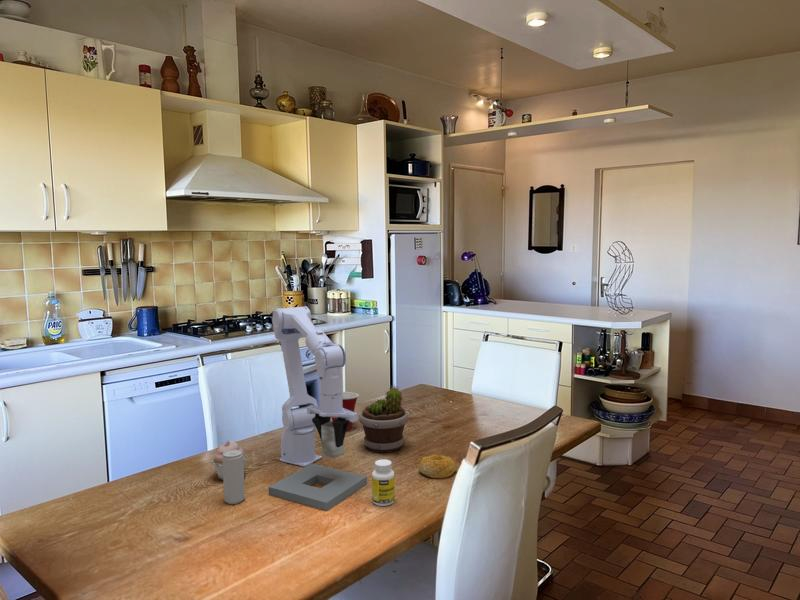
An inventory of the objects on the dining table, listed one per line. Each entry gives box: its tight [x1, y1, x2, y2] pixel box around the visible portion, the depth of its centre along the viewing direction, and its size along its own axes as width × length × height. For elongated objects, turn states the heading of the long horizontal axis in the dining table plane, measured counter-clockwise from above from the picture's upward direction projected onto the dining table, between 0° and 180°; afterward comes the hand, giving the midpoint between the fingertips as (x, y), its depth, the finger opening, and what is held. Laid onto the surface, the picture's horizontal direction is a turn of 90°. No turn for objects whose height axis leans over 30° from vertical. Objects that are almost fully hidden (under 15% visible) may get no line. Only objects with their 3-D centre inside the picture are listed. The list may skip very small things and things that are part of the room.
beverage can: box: [222, 449, 246, 505], centre depth 138 cm, size 5×5×12 cm
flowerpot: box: [358, 384, 409, 453], centre depth 173 cm, size 14×15×20 cm
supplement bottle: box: [371, 459, 396, 507], centre depth 137 cm, size 5×5×10 cm
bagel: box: [418, 454, 457, 479], centre depth 155 cm, size 10×11×5 cm
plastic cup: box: [331, 391, 360, 432], centre depth 190 cm, size 11×11×12 cm
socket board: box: [268, 462, 368, 512], centre depth 145 cm, size 18×17×2 cm
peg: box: [321, 420, 345, 459], centre depth 147 cm, size 4×4×8 cm
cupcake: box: [211, 440, 249, 481], centre depth 153 cm, size 9×9×10 cm
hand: (332, 444), depth 147 cm, fingers closed on peg, 4 cm apart
